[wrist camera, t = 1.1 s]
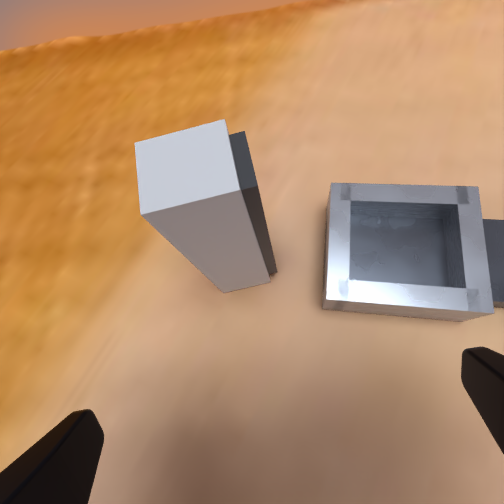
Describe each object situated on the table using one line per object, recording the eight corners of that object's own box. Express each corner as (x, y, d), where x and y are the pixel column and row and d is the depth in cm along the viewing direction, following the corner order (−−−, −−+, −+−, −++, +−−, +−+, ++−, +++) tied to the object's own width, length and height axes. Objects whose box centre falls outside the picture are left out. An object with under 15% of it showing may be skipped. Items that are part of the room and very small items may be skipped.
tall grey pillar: (279, 280, 22) (257, 185, 10) (223, 293, 22) (140, 214, 11) (269, 241, 23) (240, 114, 11) (216, 253, 23) (134, 142, 12)
